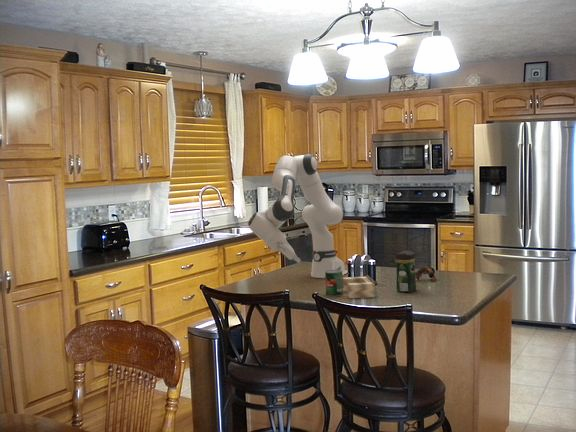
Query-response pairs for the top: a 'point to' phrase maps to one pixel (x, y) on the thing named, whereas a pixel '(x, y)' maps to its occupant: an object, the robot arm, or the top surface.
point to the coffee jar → (405, 271)
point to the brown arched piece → (428, 271)
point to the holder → (359, 287)
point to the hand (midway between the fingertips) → (299, 261)
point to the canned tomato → (334, 283)
